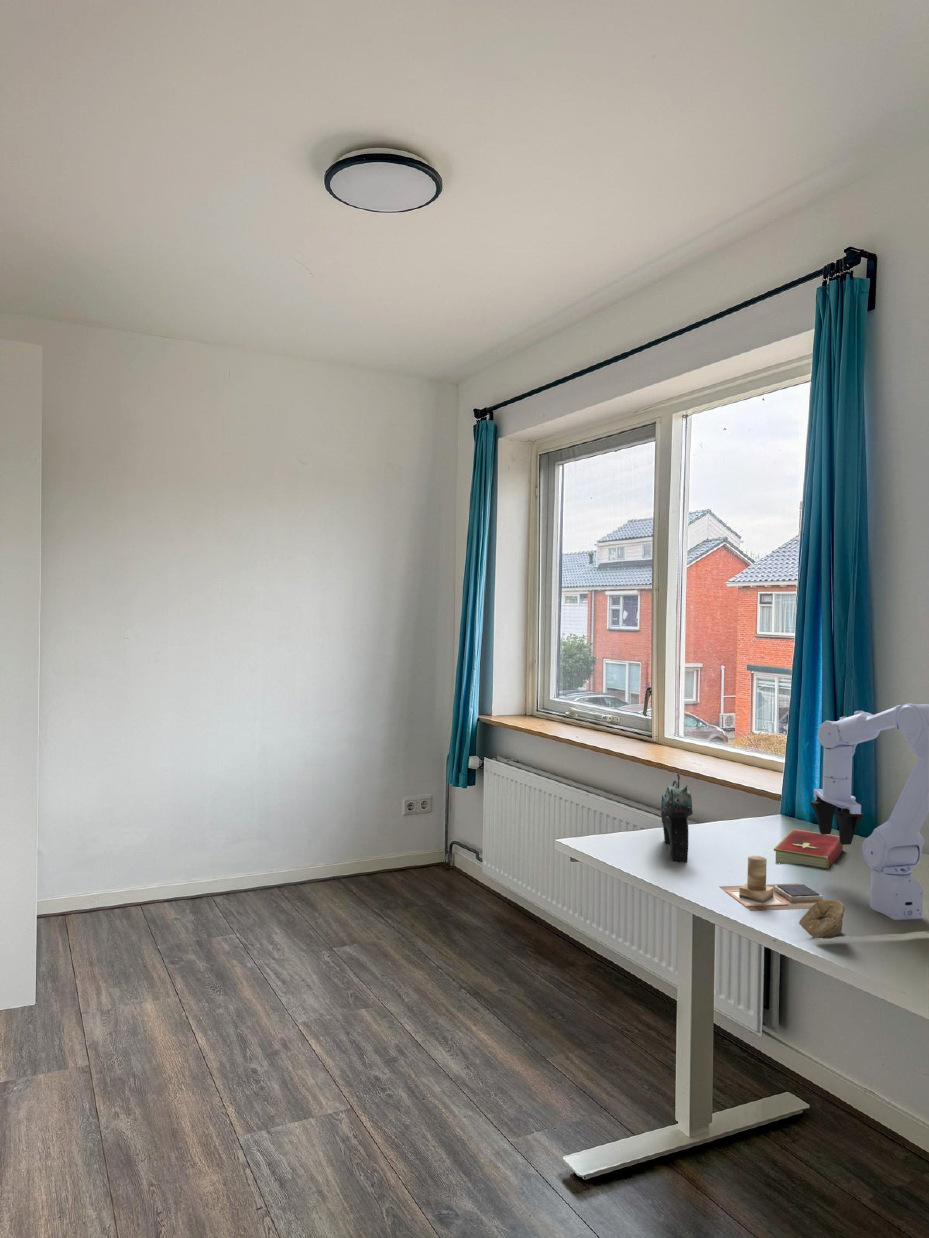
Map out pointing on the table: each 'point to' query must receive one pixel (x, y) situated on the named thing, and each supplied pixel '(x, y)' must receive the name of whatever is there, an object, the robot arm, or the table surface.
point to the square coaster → (749, 903)
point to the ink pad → (798, 893)
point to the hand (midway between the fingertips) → (835, 838)
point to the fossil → (824, 919)
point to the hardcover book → (808, 849)
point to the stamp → (756, 881)
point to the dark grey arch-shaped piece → (676, 820)
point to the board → (790, 904)
